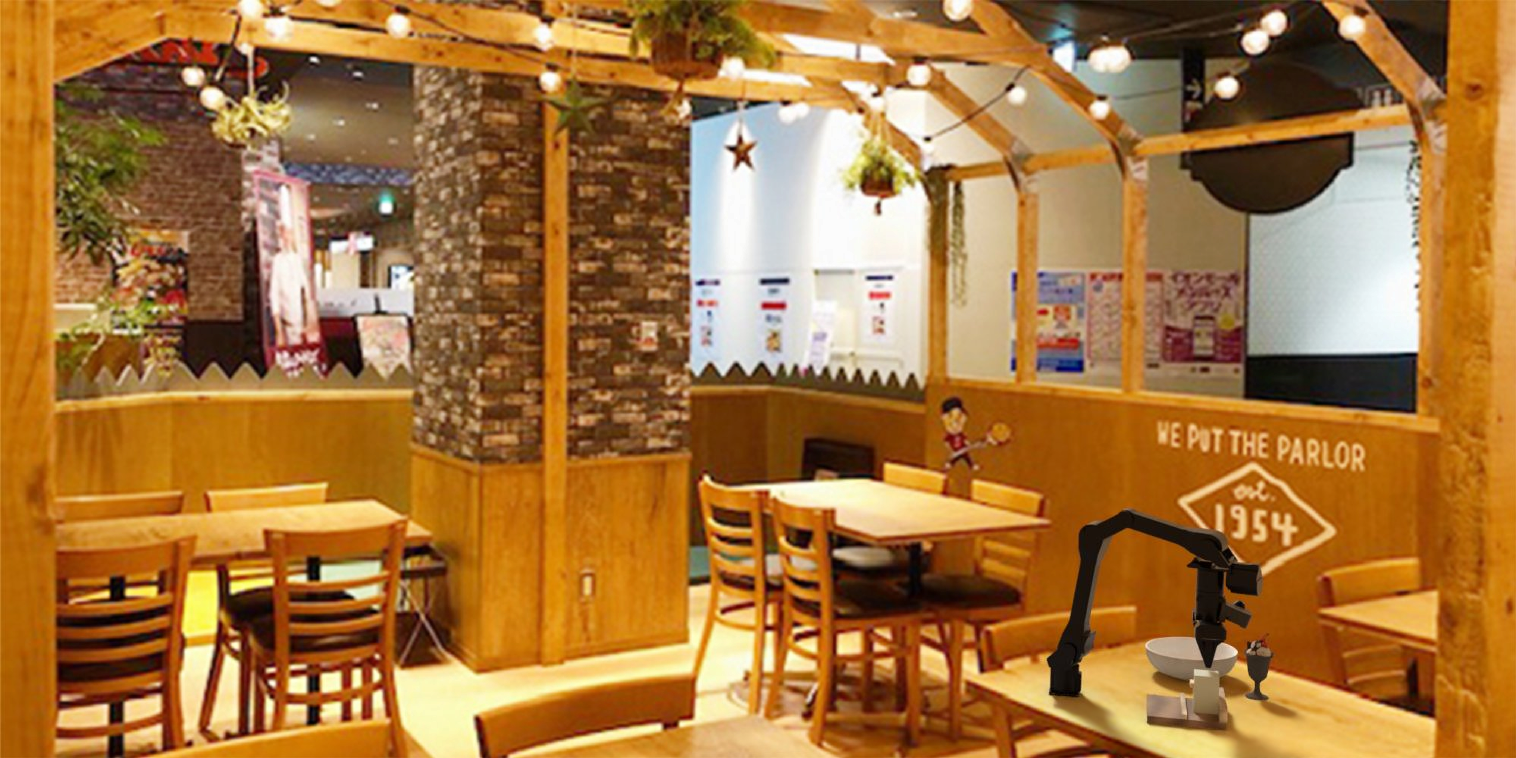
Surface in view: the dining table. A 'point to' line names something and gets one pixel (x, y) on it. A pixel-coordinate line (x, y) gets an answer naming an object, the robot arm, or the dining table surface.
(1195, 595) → the robot arm
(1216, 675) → the cabinet block
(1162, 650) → the serving bowl
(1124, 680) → the dining table surface
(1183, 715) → the cleat board
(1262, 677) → the sundae
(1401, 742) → the dining table surface
